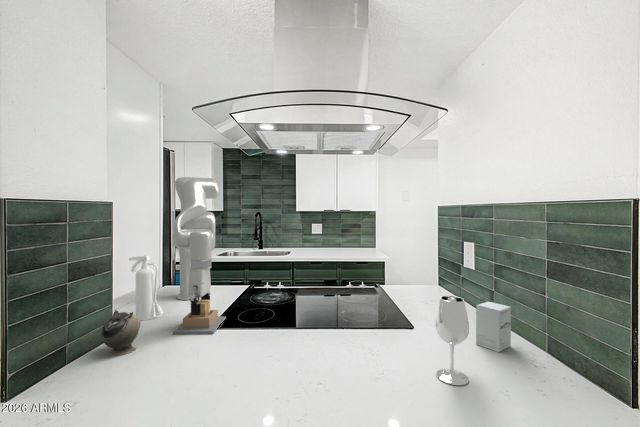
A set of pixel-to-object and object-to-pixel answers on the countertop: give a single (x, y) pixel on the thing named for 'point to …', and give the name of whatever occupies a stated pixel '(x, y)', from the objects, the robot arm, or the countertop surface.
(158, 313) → the fire extinguisher
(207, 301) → the oak block
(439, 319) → the wineglass
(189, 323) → the base board
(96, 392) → the countertop surface
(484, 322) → the supplement box
